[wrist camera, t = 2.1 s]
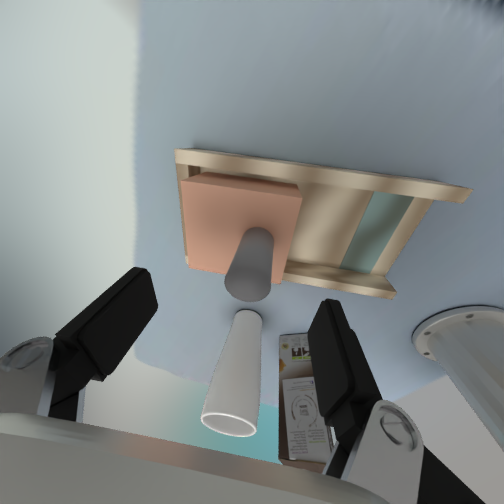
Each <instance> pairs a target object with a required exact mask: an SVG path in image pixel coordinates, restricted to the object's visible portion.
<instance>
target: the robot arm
mask: <svg viewBox="0 0 504 504" xmlns="http://www.w3.org/2000/svg"><path fill="white" fill-rule="evenodd" d="M157 309H158V303H157V299H156V295H155V291H154V287H153V283H152V279H151V275H150V273H149V272H148V271H147V269H145V268H139V267H133V268H132V269H130V270H129V271H128V272H127V273H126V274H125V275H124V276H122V277H121V278H120V279H119V280H118V281H116V282H115V283H114V284H113V285H112V286H111V287H110V288H108V289H107V290H106V291H105V292H104V293H103V294H101V295H100V296H99V297H98V298H97V299H96V300H94V301H93V302H92V303H91V304H90V305H89V306H87V307H86V308H85V309H84V310H83V311H82V312H81V313H79V314H78V315H77V316H76V317H75V318H74V319H72V320H71V321H70V322H69V323H68V324H67V325H66V326H64V327H63V328H62V329H61V330H60V331H59V332H58V333H56V334H55V335H56V337H55V338H54V339H53V340H52V339H51V338H49V337H37V338H32V339H30V340H27V341H25V342H22V343H20V344H19V345H17V346H15V347H13V348H12V349H11V350H9V351H8V352H6V353H5V354H4V355H3V356H2V357H1V358H0V504H485V503H484V502H483V501H482V500H481V499H480V498H479V497H478V496H477V495H476V494H475V493H474V492H473V491H472V490H470V489H469V488H468V487H467V486H466V485H465V484H464V483H463V482H462V481H461V480H460V479H459V478H458V477H457V476H456V475H455V474H454V473H453V472H451V470H449V469H448V468H447V467H446V466H445V465H444V464H443V463H442V462H441V461H440V460H439V459H438V458H437V457H436V456H435V455H433V453H432V452H430V451H429V450H428V449H427V448H426V447H425V446H424V445H423V440H422V437H421V434H420V432H419V430H418V428H417V426H416V424H415V423H414V422H413V420H412V419H411V418H410V416H409V415H408V414H407V413H406V412H405V411H403V409H402V408H400V407H398V406H397V405H396V404H394V403H392V402H390V401H387V400H383V399H382V396H381V394H380V391H379V389H378V387H377V384H376V382H375V379H374V377H373V375H372V372H371V370H370V367H369V365H368V362H367V360H366V358H365V355H364V353H363V350H362V348H361V346H360V343H359V341H358V338H357V336H356V334H355V332H354V331H353V330H352V329H350V326H349V324H348V321H347V319H346V316H345V314H344V311H343V309H342V306H341V304H340V302H339V301H338V300H333V299H326V300H325V301H322V302H321V304H320V306H319V308H318V311H317V313H316V315H315V317H314V319H313V322H312V324H311V326H310V328H309V330H308V334H307V338H308V344H309V351H310V357H311V363H312V370H313V376H314V382H315V389H316V395H317V401H318V408H319V413H320V415H321V417H324V422H325V425H326V426H331V427H334V431H335V435H336V440H337V441H336V443H335V446H334V448H333V450H332V452H331V454H330V457H329V459H328V461H327V463H326V466H325V468H324V470H323V472H322V474H319V473H315V472H311V471H307V470H303V469H298V468H294V467H290V466H286V465H280V464H276V463H272V462H267V461H262V460H258V459H253V458H248V457H243V456H239V455H234V454H229V453H224V452H220V451H215V450H210V449H205V448H200V447H196V446H191V445H186V444H181V443H177V442H172V441H167V440H162V439H157V438H152V437H148V436H143V435H138V434H133V433H128V432H123V431H118V430H113V429H108V428H103V427H99V426H94V425H89V424H84V423H82V422H83V410H84V397H85V387H86V385H87V383H88V382H89V381H90V380H91V379H92V380H97V381H101V382H103V381H104V379H105V378H106V377H107V375H110V374H111V373H112V372H113V371H114V370H115V369H116V367H117V366H118V364H119V363H120V362H121V360H122V359H123V357H124V356H125V355H126V353H127V352H128V350H129V349H130V348H131V346H132V345H133V343H134V342H135V341H136V339H137V338H138V336H139V335H140V334H141V332H142V331H143V329H144V328H145V327H146V325H147V324H148V322H149V321H150V320H151V318H152V317H153V315H154V314H155V313H156V311H157ZM412 342H413V345H414V347H415V348H416V349H417V351H418V352H419V353H420V354H421V355H422V356H424V357H426V358H428V359H431V360H434V361H438V362H439V364H440V365H441V367H442V368H443V369H444V371H445V372H446V373H447V375H448V376H449V378H450V379H451V380H452V382H453V383H454V384H455V386H456V387H457V388H458V390H459V391H460V393H461V394H462V395H463V397H464V398H465V399H466V401H467V402H468V404H469V405H470V406H471V408H472V409H473V410H474V412H475V413H476V414H477V416H478V417H479V419H480V420H481V421H482V423H483V424H484V426H485V427H486V428H487V430H488V431H489V432H490V434H491V435H492V436H493V438H494V439H495V441H496V442H497V443H498V445H499V446H500V448H501V449H502V450H503V452H504V310H502V309H499V308H494V307H487V306H471V307H462V308H456V309H453V310H449V311H445V312H443V313H440V314H437V315H435V316H433V317H431V318H429V319H428V320H426V321H425V322H423V323H422V324H421V325H420V326H419V327H418V328H417V329H416V331H415V332H414V334H413V337H412Z"/></svg>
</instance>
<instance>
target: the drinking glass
mask: <svg viewBox="0 0 504 504" xmlns="http://www.w3.org/2000/svg"><path fill="white" fill-rule="evenodd" d="M261 335H262V319H261V317H260V316H259V315H258V314H257V313H256V312H254V311H251V310H241V311H239V312H237V313H236V314H235V316H234V318H233V322H232V325H231V328H230V331H229V334H228V336H227V339H226V342H225V344H224V347H223V349H222V352H221V355H220V357H219V360H218V362H217V365H216V368H215V370H214V373H213V376H212V379H211V382H210V385H209V388H208V392H207V395H206V399H205V403H204V406H203V410H202V414H201V421H202V423H203V424H204V425H205V426H207V427H208V428H210V429H212V430H214V431H216V432H219V433H222V434H226V435H231V436H239V437H247V436H251V435H254V434H255V433H256V431H257V423H258V415H259V406H260V393H261Z"/></svg>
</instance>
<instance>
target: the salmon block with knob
mask: <svg viewBox="0 0 504 504" xmlns="http://www.w3.org/2000/svg"><path fill="white" fill-rule="evenodd" d="M181 190H182V201H183V211H184V222H185V232H186V243H187V253H188V264H189V268H192V269H198V270H203V271H209V272H215V273H220V274H226V276H225V281H224V282H225V287H226V289H227V291H228V292H229V293H230V294H231V295H232V296H233V297H235V298H237V299H239V300H241V301H245V302H256V301H260V300H262V299H264V298H265V297H266V296H267V295H268V294H269V292H270V289H271V283H276V284H281V280H282V276H283V272H284V268H285V265H286V261H287V257H288V253H289V249H290V245H291V241H292V237H293V234H294V230H295V226H296V222H297V218H298V214H299V210H300V206H301V202H302V199H303V198H302V196H301V193H300V191H299V188H298V186H297V184H291V183H284V182H277V181H270V180H263V179H256V178H249V177H242V176H235V175H228V174H221V173H214V172H204V173H201V174H198V175H195V176H192V177H189V178H186V179H183V180H181Z"/></svg>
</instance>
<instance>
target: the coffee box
mask: <svg viewBox="0 0 504 504" xmlns="http://www.w3.org/2000/svg"><path fill="white" fill-rule="evenodd" d="M307 334H308V333H306V334H294V335H282V336H280V339H279V455H278V459H279V460H280V461H281V463H282V464H283V465H286V466H290V467H294V468H298V469H303V470H307V471H311V472H315V473H319V474H322V472H323V470H324V468H325V466H326V463H327V461H328V459H329V457H330V454H331V452H332V450H333V448H334V445H333V439H332V434H331V428H330V426H326V425H325V422H324V417H321V415H320V413H319V408H318V401H317V395H316V389H315V382H314V376H313V370H312V363H311V357H310V351H309V344H308V338H307Z"/></svg>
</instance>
